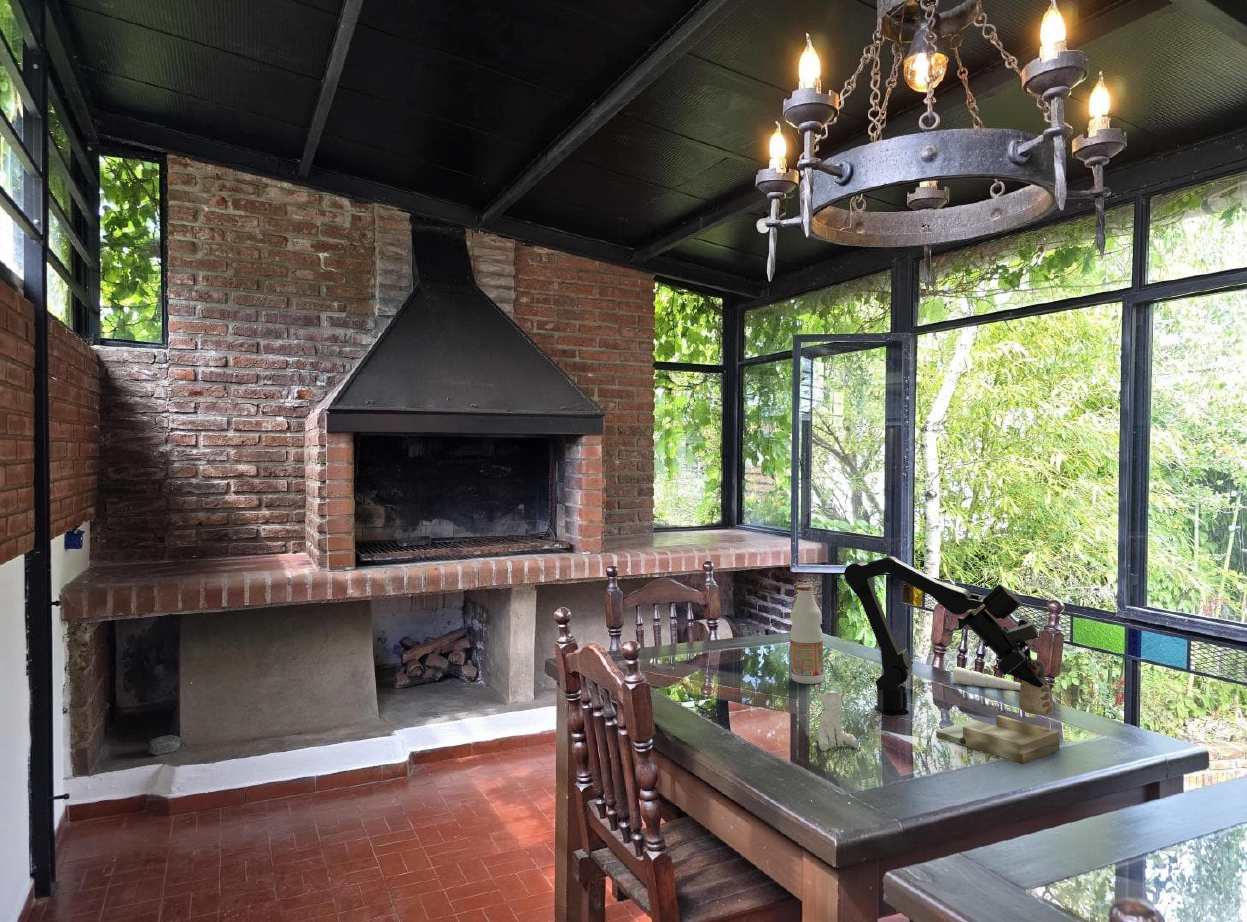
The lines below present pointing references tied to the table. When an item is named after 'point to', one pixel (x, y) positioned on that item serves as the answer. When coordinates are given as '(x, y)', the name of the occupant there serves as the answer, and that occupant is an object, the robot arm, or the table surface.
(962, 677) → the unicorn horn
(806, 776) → the table surface
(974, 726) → the shallow wooden tray
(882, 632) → the robot arm
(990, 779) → the table surface
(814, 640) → the fruit juice
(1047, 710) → the figurine
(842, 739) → the beige lumpy upright piece
